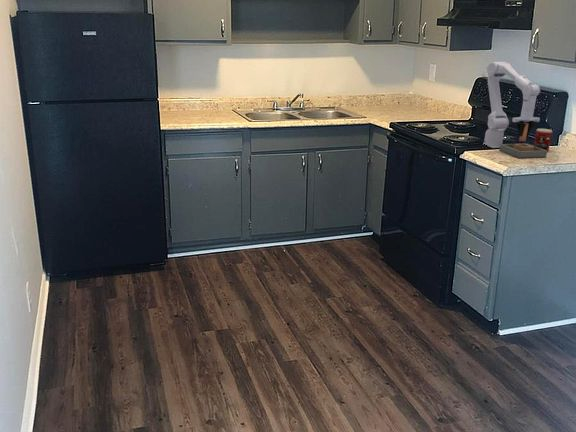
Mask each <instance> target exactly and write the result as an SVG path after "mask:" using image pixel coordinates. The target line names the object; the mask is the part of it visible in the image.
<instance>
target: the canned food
mask: <svg viewBox="0 0 576 432" xmlns="http://www.w3.org/2000/svg"><path fill="white" fill-rule="evenodd" d="M552 136H553V130H552V129H549V128H548V129H547V128H537V129H536V130H535V136H534V142H533V146H535V147H538V148H541V149H544V150H547V153H548V152H549V151H550V146H551V140H552Z"/></svg>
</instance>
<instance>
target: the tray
mask: <svg viewBox="0 0 576 432" xmlns="http://www.w3.org/2000/svg"><path fill="white" fill-rule="evenodd" d="M499 152H502V153H504V154H506V155H509V156H511V157H514V158H515V159H521V160H522V159H539V158H540V159H542V158H544V159H545V158H547V155H548V152H547V150H544V149H541V148H538V147H535V146H534V145H532V144H529V143H502V144H500V148H499Z"/></svg>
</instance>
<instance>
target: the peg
mask: <svg viewBox="0 0 576 432" xmlns="http://www.w3.org/2000/svg"><path fill="white" fill-rule="evenodd" d="M524 123H525V122H524ZM525 124H526V125H525V128H524V131H523V135H522V136H519V140H518V141H520V142H526V141H527V137H528V136H527V130H528V125H529V123H525Z"/></svg>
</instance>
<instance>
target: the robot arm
mask: <svg viewBox="0 0 576 432" xmlns="http://www.w3.org/2000/svg"><path fill="white" fill-rule="evenodd" d="M486 70H487V71H486V73H487V86H488V87H487V88H488V93H489V101H490V102H489V103H490V110H491V112H490V114H488V116H487V118H488V119H487V127H488V128H487V129H486V131H485V133H484V142H482V143H483V144H482V145H484V144H485V145H484V146H486V145H487V147H489V148H492V149H498V148H499V149H500V144H503V140H504V133H505V131H506V129H507V128H508V127H509V125H510V120H509V118H508V116H507V114H506V113H505V111H504V110H503V104H502V96H501V88H500V87H501V86H500V81H501V80H502V78H504V77H505V76H508V78H509V79H511V80H512V81H514V85H515V86H516V87H517V88H518V89H519V90H520V91H521V93H522V107H521V111H520V116H518V117H512V121H511V122H513V123H515V124H516V127H517V133H518V137H520V136H522V135H523V131H524V128H525V125H526V124H525V123H529V125H528V130H527V136H526V137H529V136H530V133H531V130H533V128H534V127H535V126H536V123H539V122H540V119H541V118H540V117H537V116H534V112H535V108H536V107H535V106H536V103H537V102H536V101H537V96H539V95H540V94H541V87H540V85H539V84H538V83H533V81H532V80H529V79H528V78H527V76H526V75H520V74H519V73H518V72H517V71H516V70H515V69H514V68H513V66H512V65H511V63H509V62H508V61H491V62H490V63H489V64H488V66H487V67H486Z"/></svg>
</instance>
